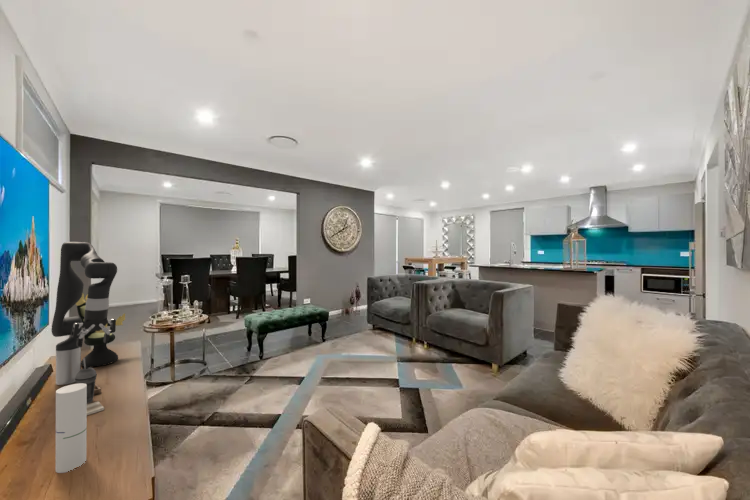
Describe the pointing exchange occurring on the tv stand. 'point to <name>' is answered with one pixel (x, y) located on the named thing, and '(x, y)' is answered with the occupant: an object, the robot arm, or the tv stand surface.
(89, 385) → the beverage cup
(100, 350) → the black yellow plant sculpture
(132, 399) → the tv stand surface
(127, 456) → the tv stand surface
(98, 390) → the marble tray
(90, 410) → the ash board
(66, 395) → the cylindrical container
